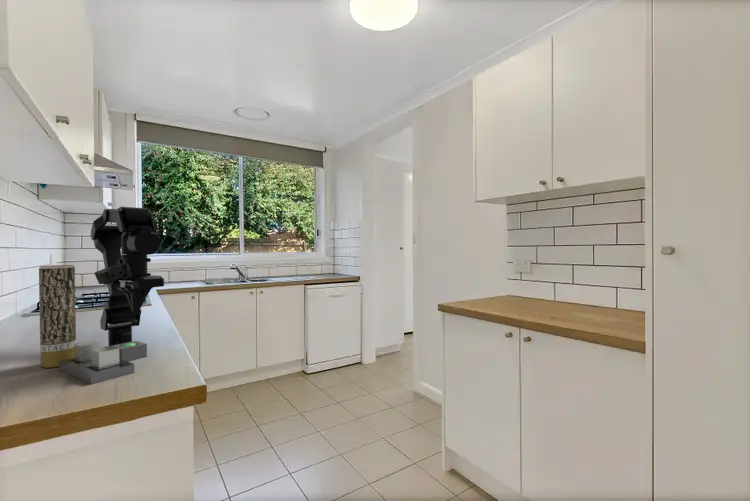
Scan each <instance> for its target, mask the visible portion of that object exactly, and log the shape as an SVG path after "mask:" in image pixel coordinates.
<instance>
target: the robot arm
mask: <svg viewBox="0 0 750 501" xmlns="http://www.w3.org/2000/svg"><path fill="white" fill-rule="evenodd" d="M107 223H115V224H116V225H113V224H112V225H111V224H110V225H107ZM157 226H158V225H157V224H156V221H155V218H154V217H153V214H152V213H151V212H150V209H148V208H145V207H131V206H120V207H117V208H106V209H105V208H104V209H103V210H102V215H100V216H98V217H97V218H96V219H94V220H93V223H92V225H91V229H90V239H91V240H92V241H93V246H94V247H95V248H96V249H97V251H98V252H100V253H101V254H102V257H103V258H102V259H103V265H104V268H103V269H100V270H96V271H95V272H94V276H95V277H96V280H97V282H98V284H99V285H104V286H105V285H107V288H108V296H109V298H108V300H107V301H106V303H105V305H104V306H103V308H104V309H103V311H102V314H101V317H100V321H99V325H100V329H101V330H103V331H105V332H106V331H107V338H108V340H107V342H108V343H107V345H108V346H113V345H118V344H123V343H128V342H132V341H133V327H139V326H140V322H141V314H142V309H141V308H142V306H143V304H144V302H145V300H146V299H147V297H148V295H149V293H150V292H151V290H152V289H153V288H161V287H165V279H164V277H163V276H161V275H153V274H152V273H150V272H148V263H151V262H152V261H151V260H152V259H151V258H150V257H148V256H149V255H153V254H155V253H156V252H157V251H158V250H159V249H160V246H161V241H160V239H159V237H158V236H157V235H156V234H155V233H157V228H158V227H157ZM108 346H106V347H108Z"/></svg>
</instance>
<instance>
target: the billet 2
mask: <svg viewBox="0 0 750 501" xmlns="http://www.w3.org/2000/svg"><path fill="white" fill-rule="evenodd" d="M91 357H92V370H93V371H96V372H97V371H101V370H105V369H109V368H113V367H117V366H119V348H117V347H114V346H108V347H107V346H103V347H100V348H98V349H94V350H91Z"/></svg>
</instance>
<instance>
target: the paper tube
mask: <svg viewBox="0 0 750 501" xmlns="http://www.w3.org/2000/svg"><path fill="white" fill-rule="evenodd" d="M75 272H76V266H75V265H74V264H59V265H58V264H57V265H56V264H55V265H53V264H52V265H40V266H38V290H39V292H38V293H39V297H38V298H39V343H40V344H39V346H40V349H39V350H40V351H39V352H40V366H41V368H45V369H47V368H48V369H52V368H58V367H59V361H61V360H66V359H71V358H74V344H76V343H77V331H76V330H77V328H76V323H77V322H76V320H77V319H76V273H75Z"/></svg>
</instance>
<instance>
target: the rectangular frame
mask: <svg viewBox="0 0 750 501" xmlns="http://www.w3.org/2000/svg"><path fill="white" fill-rule="evenodd" d="M59 370H60V371H63V372H65V373H67V374H69V375H71V376H74V377H75V378H77V379H79V380H81V381H84V382H86V383H88V384H89V385H94V384H97V383H101V382H104V381H108V380H111V379H116V378H120V377H123V376H124V377H125V376H127V375H131V374H134V373H135V363H132V362H131V361H124V360H121V359H119V366H117V367H113V368H109V369H105V370H101V371H97V372H96V371H93V370H92V361H90V362H85V363H81V364H77V363H75V361H74V358H71V359H66V360H61V361H59Z"/></svg>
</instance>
